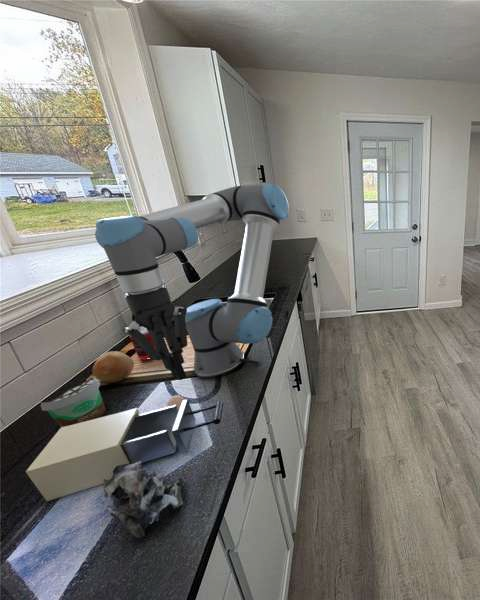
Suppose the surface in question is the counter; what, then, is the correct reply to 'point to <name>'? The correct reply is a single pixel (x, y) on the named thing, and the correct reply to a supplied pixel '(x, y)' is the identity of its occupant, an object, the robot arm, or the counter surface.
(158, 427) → the grey drawer
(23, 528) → the counter surface
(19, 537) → the counter surface
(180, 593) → the counter surface
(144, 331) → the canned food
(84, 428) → the cream drawer box
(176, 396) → the egg
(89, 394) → the food container
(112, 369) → the onion
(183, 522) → the counter surface
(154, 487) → the foil
